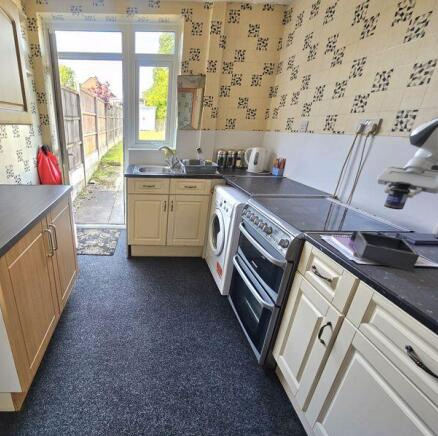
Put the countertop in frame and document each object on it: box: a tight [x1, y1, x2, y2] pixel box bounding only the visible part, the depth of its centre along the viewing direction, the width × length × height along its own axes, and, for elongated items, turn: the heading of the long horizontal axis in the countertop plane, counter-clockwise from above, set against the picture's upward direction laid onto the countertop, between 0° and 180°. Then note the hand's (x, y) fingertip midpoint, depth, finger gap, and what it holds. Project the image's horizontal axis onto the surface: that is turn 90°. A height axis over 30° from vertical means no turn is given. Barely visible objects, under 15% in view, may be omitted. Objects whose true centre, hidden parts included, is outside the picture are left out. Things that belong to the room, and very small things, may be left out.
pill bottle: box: [383, 182, 411, 210], centre depth 105 cm, size 6×6×11 cm
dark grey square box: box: [352, 230, 420, 272], centre depth 89 cm, size 14×14×7 cm
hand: (397, 194), depth 104 cm, fingers closed on pill bottle, 6 cm apart
